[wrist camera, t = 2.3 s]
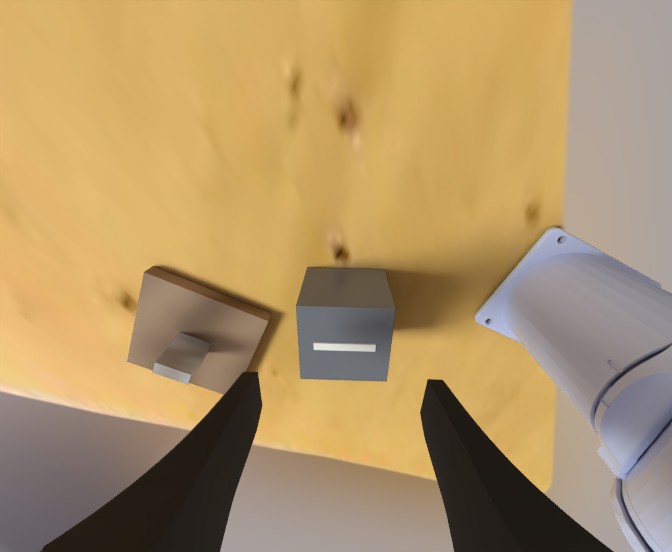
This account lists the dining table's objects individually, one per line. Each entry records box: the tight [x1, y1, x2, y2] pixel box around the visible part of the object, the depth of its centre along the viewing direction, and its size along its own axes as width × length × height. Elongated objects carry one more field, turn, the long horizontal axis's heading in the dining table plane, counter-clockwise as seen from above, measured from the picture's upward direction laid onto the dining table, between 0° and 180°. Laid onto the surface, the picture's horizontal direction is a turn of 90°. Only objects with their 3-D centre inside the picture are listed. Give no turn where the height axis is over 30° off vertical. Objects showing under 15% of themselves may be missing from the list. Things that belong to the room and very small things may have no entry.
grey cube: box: [296, 267, 396, 381], centre depth 19 cm, size 5×5×5 cm
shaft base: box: [127, 266, 271, 394], centre depth 21 cm, size 9×9×4 cm
